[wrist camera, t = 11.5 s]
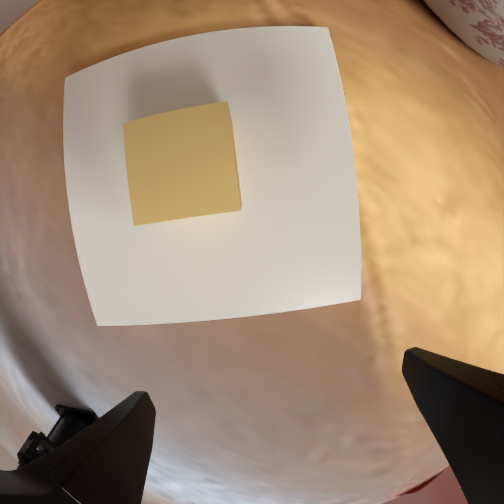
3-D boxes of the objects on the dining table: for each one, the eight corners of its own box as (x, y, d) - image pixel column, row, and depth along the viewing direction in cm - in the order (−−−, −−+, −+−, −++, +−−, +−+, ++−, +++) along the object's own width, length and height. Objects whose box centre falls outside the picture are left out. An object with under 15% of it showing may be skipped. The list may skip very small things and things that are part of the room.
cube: (164, 215, 17) (134, 226, 12) (155, 138, 16) (123, 123, 11) (242, 204, 17) (240, 210, 12) (232, 125, 16) (227, 101, 11)
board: (105, 317, 20) (97, 325, 19) (74, 82, 15) (65, 77, 14) (353, 292, 20) (360, 299, 18) (322, 36, 15) (327, 27, 14)
